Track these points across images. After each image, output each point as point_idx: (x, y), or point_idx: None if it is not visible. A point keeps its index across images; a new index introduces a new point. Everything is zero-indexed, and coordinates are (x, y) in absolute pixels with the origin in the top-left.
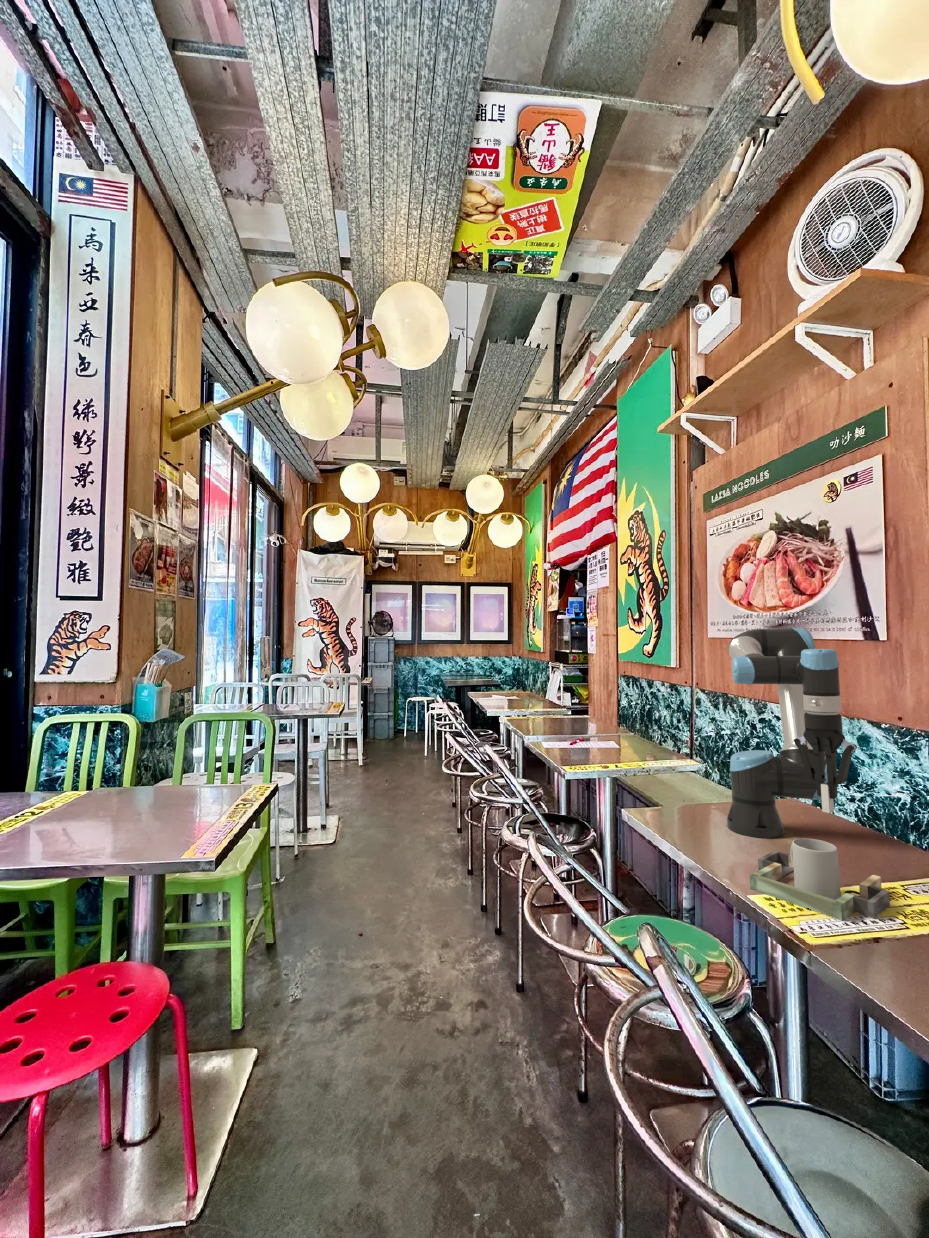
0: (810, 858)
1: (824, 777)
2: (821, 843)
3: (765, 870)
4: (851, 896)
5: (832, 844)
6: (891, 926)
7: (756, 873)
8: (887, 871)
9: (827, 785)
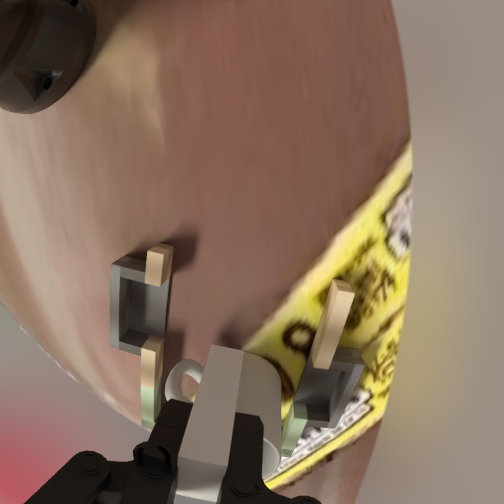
0: None
1: (169, 493)
2: None
3: (148, 397)
4: (302, 425)
5: (267, 441)
6: (352, 418)
7: (145, 416)
8: (351, 131)
9: (215, 501)
